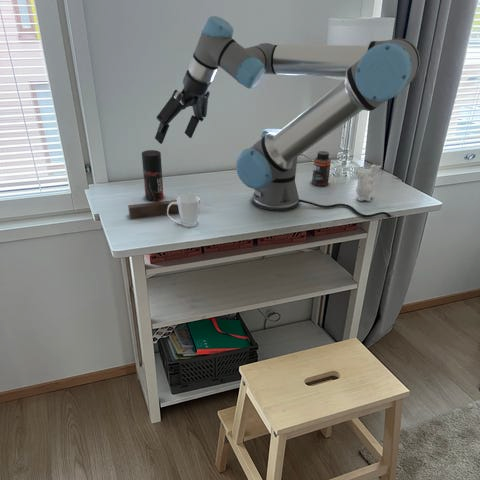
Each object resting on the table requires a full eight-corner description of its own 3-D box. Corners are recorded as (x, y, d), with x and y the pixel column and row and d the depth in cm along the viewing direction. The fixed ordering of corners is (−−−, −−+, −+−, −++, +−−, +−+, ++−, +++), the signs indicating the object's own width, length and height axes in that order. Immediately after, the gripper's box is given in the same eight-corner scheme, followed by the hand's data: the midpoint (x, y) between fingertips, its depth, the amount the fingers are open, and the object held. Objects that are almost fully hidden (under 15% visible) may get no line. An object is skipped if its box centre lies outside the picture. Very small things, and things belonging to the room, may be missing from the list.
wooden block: (194, 208, 157) (194, 197, 155) (196, 211, 155) (196, 200, 153) (129, 216, 151) (128, 205, 149) (130, 219, 149) (129, 208, 147)
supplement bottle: (327, 181, 181) (331, 150, 174) (328, 187, 176) (332, 155, 169) (311, 180, 181) (315, 149, 175) (311, 185, 176) (315, 154, 170)
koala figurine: (371, 195, 171) (378, 161, 164) (378, 203, 166) (386, 168, 158) (348, 196, 170) (354, 161, 163) (355, 203, 164) (361, 168, 157)
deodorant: (158, 202, 160) (155, 157, 151) (142, 199, 161) (138, 154, 153) (166, 196, 164) (163, 151, 155) (151, 193, 166) (147, 149, 157)
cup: (202, 228, 145) (201, 202, 141) (168, 230, 144) (166, 204, 139) (199, 218, 151) (199, 193, 146) (167, 219, 149) (165, 194, 145)
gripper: (217, 66, 148) (191, 125, 163) (160, 68, 130) (136, 135, 145) (234, 82, 147) (206, 140, 161) (178, 86, 129) (153, 151, 144)
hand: (173, 138), depth 153 cm, fingers open, 13 cm apart
